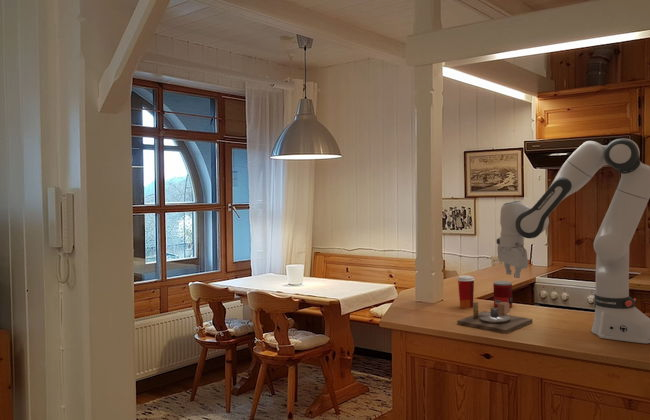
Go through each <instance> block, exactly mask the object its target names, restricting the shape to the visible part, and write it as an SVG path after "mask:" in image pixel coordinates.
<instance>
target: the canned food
mask: <svg viewBox="0 0 650 420" xmlns="http://www.w3.org/2000/svg"><path fill="white" fill-rule="evenodd" d="M492 283H493V305H494V308H498V303H501V302H507V303H509V309H510V308H512V307H513V283H512V281H508V280H497V281H495V280H494V281H493V282H492Z"/></svg>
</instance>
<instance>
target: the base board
mask: <svg viewBox="0 0 650 420" xmlns="http://www.w3.org/2000/svg"><path fill="white" fill-rule="evenodd" d="M472 311H473V312H472V313H473V314H472V315H469V316H466V317H463V318H461V319H458V320H457V321H456V322H457V324H456V325H460V326H466V327H470V328H475V329H480V330H484V331H490V332H494V333H500V334H505V335H507V334H509V333H513V331H516V330H519V329H521V328H523V327H526V326H529V325H531V324H532V323H533V318H528V317H524V316H516V315H511V314H508V315H509V316H510V321H508V322H504V323H488V322H483V321H481V320H480V319H479V315H480V314H483V313H491V311H487V310H483V311H479V302H478V301H473V310H472Z"/></svg>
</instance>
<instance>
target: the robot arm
mask: <svg viewBox="0 0 650 420" xmlns="http://www.w3.org/2000/svg"><path fill="white" fill-rule="evenodd" d="M640 151H641V150H640V148H639V145H638V144H637V143H636V142H635V141H633V140H632V139H629V138H616V139H614V140H612V141H610V142H609V143H608V144H606V145H603V144H601V143H599V142H597V141H594V140H587V141H584V142H582V144H581V145H579V147H577V148H575V150H574V151H573V152H572V153H571V154H570V155H569V157H568V158H567V159H566V160H565V162H564V163H563V164H562V165H561V167H560V169H559V170H558V172H557V173H556V175H555V177H554V179H553V180H552V182H551V184H550V185H549V186H548V189H547V190H546V191H545V192H544V194H543V195H542V196H541V197H540V198H539V200H537V202H536V203H535V204H534V206H528V205H527V204H525V203H523V202H522V200H521V201H520V200H514V201H508V202H506V203H503V205H502V206H501V208H500V219H499V220H500V221H499V224H500V227H501V230H500V236H499V237H498V238H496V241H495V242H496V245H497V247H496V248H497V249H496V250H497V259H498V261H499V262H500V263H503V264H504V269H505V274H506V275H508V276H510V275H512V271H513V270H512V269H511V266H512V267H514V270H515V272H514V273H513V276H514V278H515V279H520V278H521V272H522V269H527V268H528V266H529V264H528V263H529V260H528V252H527V249H526V248H525V247H524V246H525V238H526V239H535V238H536V237H538V236H539V235H541V234H542V233H543V232H545V231H546V230H547V229H548V227H549V226H550V218H549V216H550V215H551V213H553V211H554V210H555V209H556V208H557V207H558V206H559V205H560V203H561V202H562V201H564V199H566V198H567V197H569V196H570V195H573V194H575V193H576V192H578V191H579V190H580V189H582V188H583V187H584V186H585V185H587V184H588V183H589V182H590V180H592V178H593V177H594V176H595V174H596V173H598V171H599V170H600V169H601V168H603V167H605V166H610V167H611V168H613V169H615V170H616V171H617V172H619V173H620V180H619V182H618V185H617V187H616V189H615V192H614V194H613V196H612V199H611V202H610V204H609V206H608V209H607V211H606V212H605V216H604V217H603V219H602V222H601V224H600V227H599V228H598V231H597V233H596V236H595V238H594V240H593V249H594V252H595V254H596V259H595V260H596V262H595V293H594V297H593V298H594V299H593V300H594V301H593V302H594V303H593V304H594V309H595V310H594V319H593V324H592V328H591V330H590V331H591V333H592V334H594V335H596V336H597V337H598V338H600V339H606V340H613V341H621V342H628V343H629V342H630V343H638V344H650V317H649V316H647V315H646V314H644V313H643V311H641V310H640V309H638V308H637V307H636V306H635V303H636V300H637V297H636V298H633V297H631V296H630V275H629V274H630V244H631V242H632V239H633V238H634V235H635V232H636V230H637V228H638V226H639V223H640V221H641V218H642V217H643V215H644V212H645V210H646V208H647V205H648V203H649V200H650V165H648V164H646V163H645V164H644V163H643V162H642V161H641V160H640V153H641V152H640Z"/></svg>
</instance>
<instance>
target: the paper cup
mask: <svg viewBox="0 0 650 420" xmlns="http://www.w3.org/2000/svg"><path fill="white" fill-rule="evenodd" d="M456 280H457V284H458V296H459V306H460V308H461V309H464V308H470V309H472V308H473V302H474V291H475V289H474V287H475V277H474V276H473V275H469V274H468V275H467V274H466V275H458V277H457V279H456Z"/></svg>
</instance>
